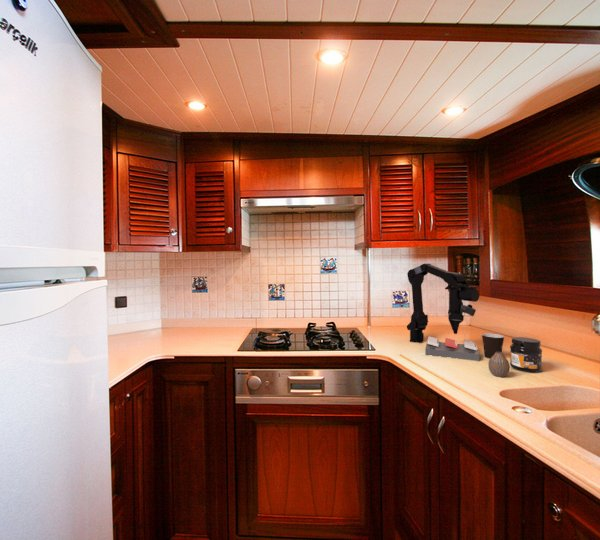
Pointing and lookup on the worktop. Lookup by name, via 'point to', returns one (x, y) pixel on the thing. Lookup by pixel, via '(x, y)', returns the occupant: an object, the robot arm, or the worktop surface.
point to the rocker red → (451, 343)
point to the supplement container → (526, 354)
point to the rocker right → (470, 345)
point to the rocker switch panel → (452, 351)
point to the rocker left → (433, 341)
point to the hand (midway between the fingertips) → (455, 331)
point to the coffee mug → (492, 344)
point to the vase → (499, 365)
